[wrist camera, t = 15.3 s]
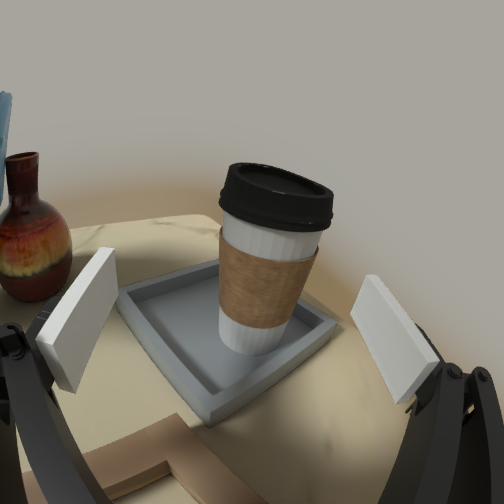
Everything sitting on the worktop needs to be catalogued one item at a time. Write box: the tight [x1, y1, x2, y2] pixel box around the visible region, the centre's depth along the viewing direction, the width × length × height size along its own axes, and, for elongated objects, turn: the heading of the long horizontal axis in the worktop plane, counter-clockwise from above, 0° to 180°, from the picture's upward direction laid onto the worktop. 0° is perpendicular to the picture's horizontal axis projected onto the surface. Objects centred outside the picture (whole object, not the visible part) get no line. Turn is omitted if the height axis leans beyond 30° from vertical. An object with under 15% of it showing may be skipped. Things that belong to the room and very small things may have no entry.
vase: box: [0, 152, 72, 302], centre depth 23 cm, size 11×11×15 cm
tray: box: [116, 259, 338, 428], centre depth 27 cm, size 16×16×2 cm
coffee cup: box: [219, 163, 334, 356], centre depth 23 cm, size 8×8×15 cm
